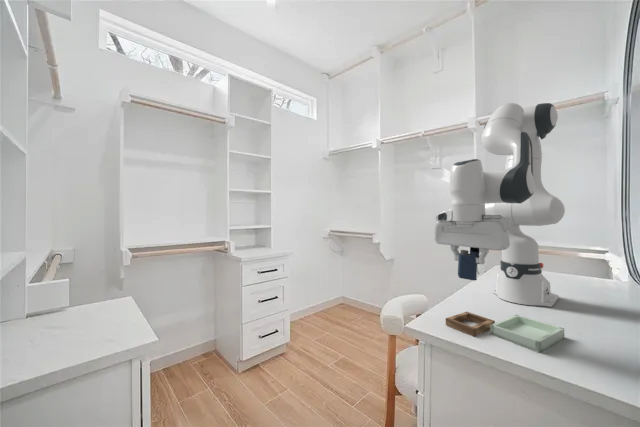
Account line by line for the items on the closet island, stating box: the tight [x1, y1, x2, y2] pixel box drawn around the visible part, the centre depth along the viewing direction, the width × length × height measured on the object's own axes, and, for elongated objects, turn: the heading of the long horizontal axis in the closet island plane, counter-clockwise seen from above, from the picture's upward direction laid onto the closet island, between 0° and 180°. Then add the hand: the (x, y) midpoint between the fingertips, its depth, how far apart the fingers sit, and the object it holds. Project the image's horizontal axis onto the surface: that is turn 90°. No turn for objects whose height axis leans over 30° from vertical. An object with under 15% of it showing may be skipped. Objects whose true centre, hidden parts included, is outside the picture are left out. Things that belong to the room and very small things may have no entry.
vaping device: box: [457, 247, 480, 281], centre depth 74 cm, size 3×5×12 cm, turn 54°
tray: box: [489, 314, 565, 354], centre depth 68 cm, size 14×11×2 cm
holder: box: [445, 311, 496, 337], centre depth 74 cm, size 10×8×2 cm
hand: (469, 262), depth 74 cm, fingers closed on vaping device, 5 cm apart
